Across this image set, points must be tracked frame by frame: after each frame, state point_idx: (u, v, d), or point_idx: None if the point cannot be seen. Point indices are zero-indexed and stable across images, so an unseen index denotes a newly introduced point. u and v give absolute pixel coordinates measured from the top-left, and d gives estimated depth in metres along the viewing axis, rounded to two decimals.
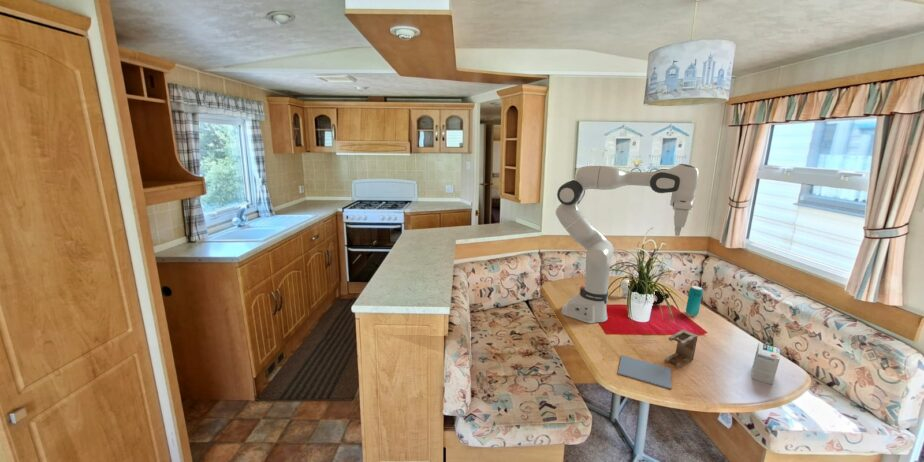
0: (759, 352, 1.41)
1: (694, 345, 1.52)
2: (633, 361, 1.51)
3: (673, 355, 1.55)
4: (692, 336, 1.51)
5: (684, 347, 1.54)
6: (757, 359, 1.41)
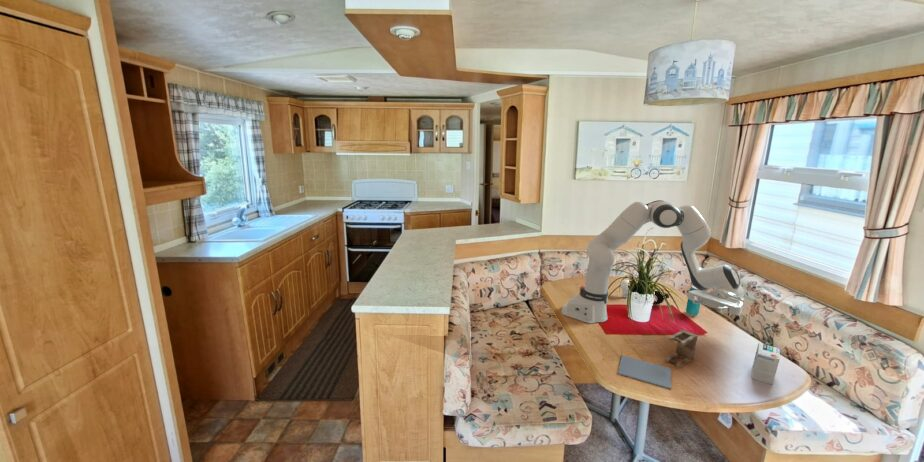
0: (759, 352, 1.41)
1: (694, 345, 1.52)
2: (633, 361, 1.51)
3: (673, 355, 1.55)
4: (692, 336, 1.51)
5: (684, 347, 1.54)
6: (757, 359, 1.41)
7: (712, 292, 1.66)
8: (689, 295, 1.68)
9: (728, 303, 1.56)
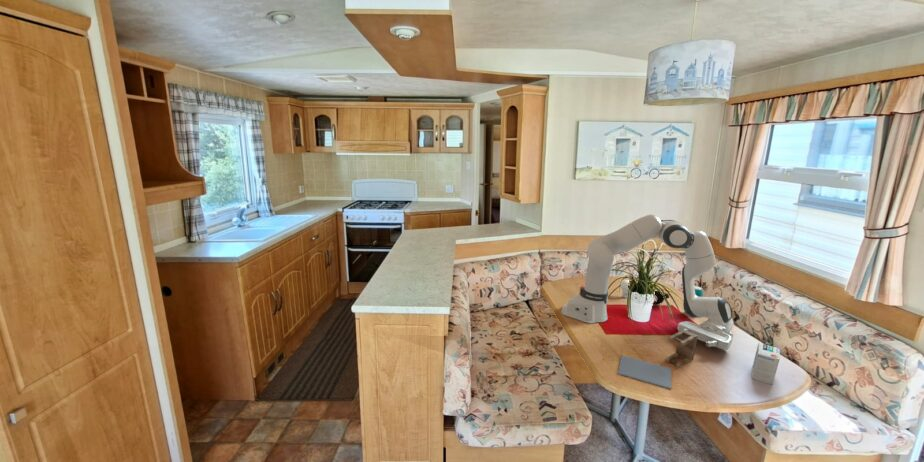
0: (759, 352, 1.41)
1: (694, 345, 1.52)
2: (633, 361, 1.51)
3: (673, 355, 1.55)
4: (692, 336, 1.51)
5: (684, 347, 1.54)
6: (757, 359, 1.41)
7: (702, 324, 1.68)
8: (679, 327, 1.69)
9: (717, 337, 1.58)
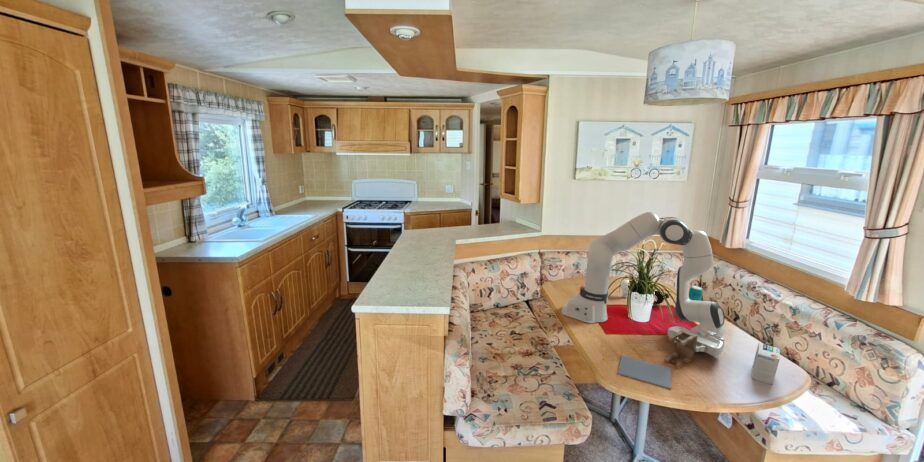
0: (759, 352, 1.41)
1: (694, 345, 1.52)
2: (633, 361, 1.51)
3: (673, 355, 1.55)
4: (692, 336, 1.51)
5: (684, 347, 1.54)
6: (757, 359, 1.41)
7: (692, 329, 1.63)
8: (669, 332, 1.64)
9: (708, 343, 1.53)
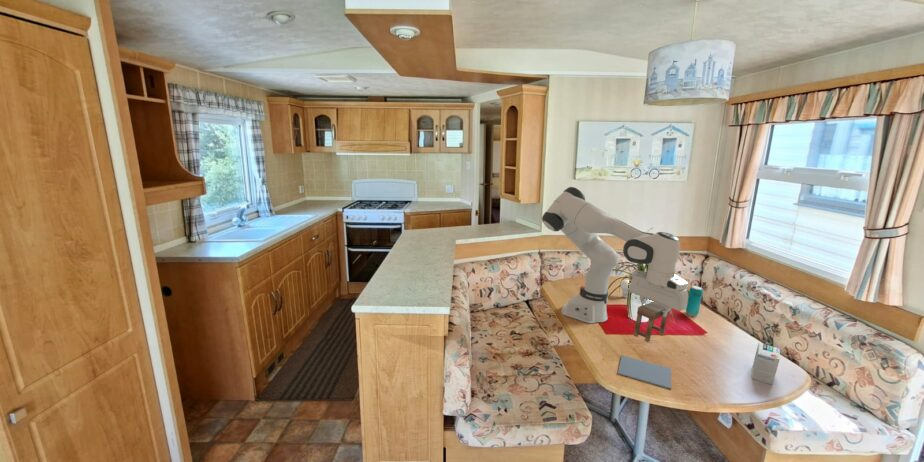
0: (759, 352, 1.41)
1: (659, 314, 1.36)
2: (633, 361, 1.51)
3: None
4: (650, 319, 1.34)
5: None
6: (757, 359, 1.41)
7: None
8: None
9: (669, 303, 1.32)
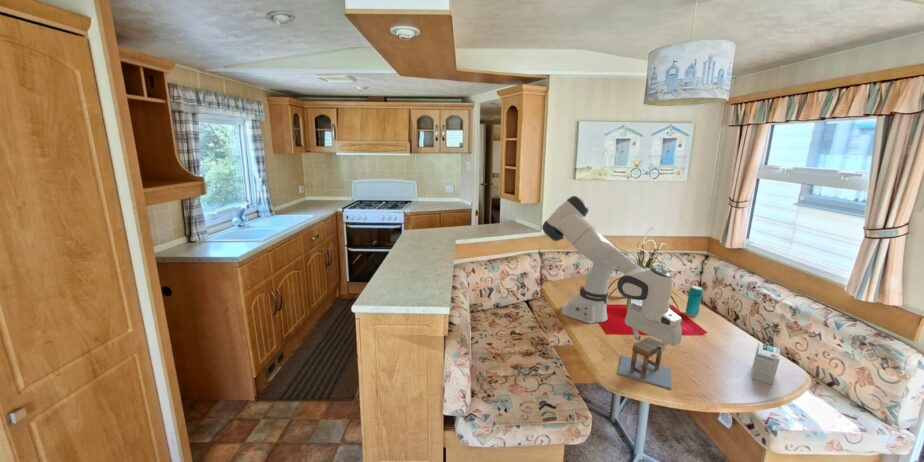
0: (759, 352, 1.41)
1: (653, 352, 1.39)
2: None
3: None
4: (645, 357, 1.38)
5: None
6: (757, 359, 1.41)
7: None
8: None
9: (663, 338, 1.35)
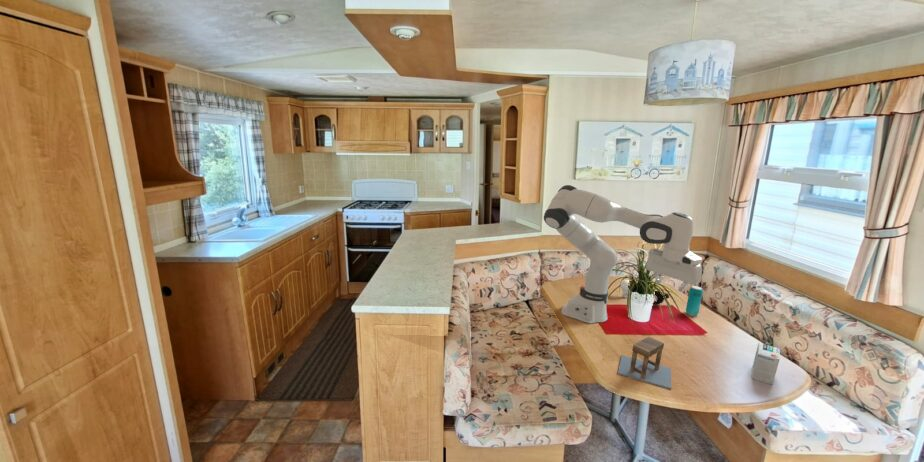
0: (759, 352, 1.41)
1: (653, 352, 1.39)
2: None
3: None
4: (645, 357, 1.38)
5: None
6: (757, 359, 1.41)
7: None
8: None
9: (684, 277, 1.43)
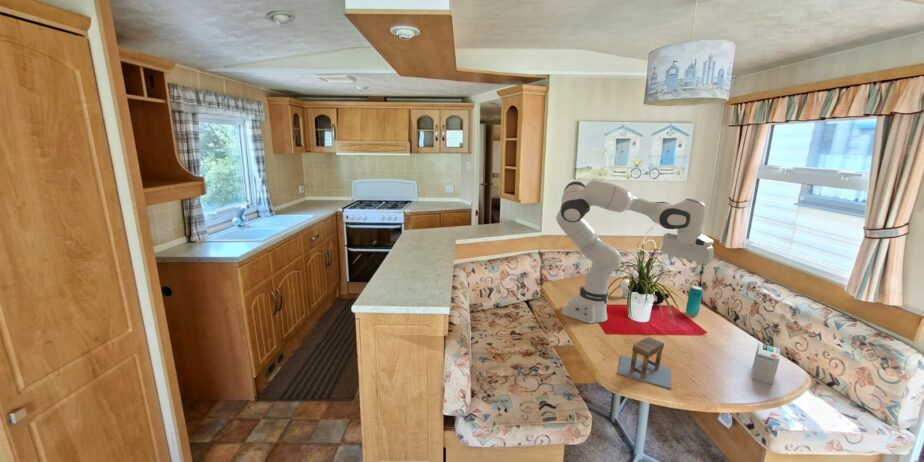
0: (759, 352, 1.41)
1: (653, 352, 1.39)
2: None
3: None
4: (645, 357, 1.38)
5: None
6: (757, 359, 1.41)
7: None
8: None
9: (697, 258, 1.55)
